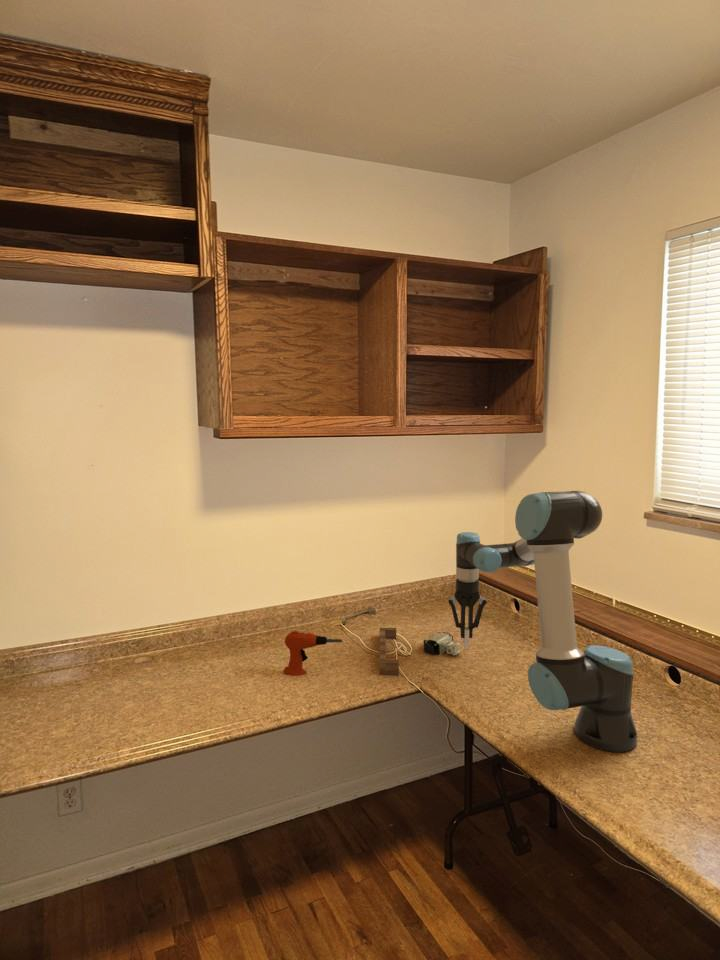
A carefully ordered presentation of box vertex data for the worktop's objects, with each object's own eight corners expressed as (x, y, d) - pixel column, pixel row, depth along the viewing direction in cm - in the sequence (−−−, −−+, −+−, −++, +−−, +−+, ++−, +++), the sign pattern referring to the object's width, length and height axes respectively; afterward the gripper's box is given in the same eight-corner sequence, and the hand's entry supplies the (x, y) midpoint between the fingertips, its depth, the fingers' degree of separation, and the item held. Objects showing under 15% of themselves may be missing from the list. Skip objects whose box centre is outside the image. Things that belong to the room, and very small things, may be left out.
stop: (398, 677, 187) (398, 662, 187) (379, 677, 187) (379, 662, 187) (396, 641, 217) (396, 627, 216) (379, 640, 217) (379, 627, 217)
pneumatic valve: (448, 662, 198) (419, 653, 206) (467, 650, 207) (438, 642, 215) (447, 646, 198) (418, 638, 206) (466, 635, 206) (437, 628, 214)
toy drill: (342, 681, 185) (341, 634, 183) (282, 679, 186) (281, 633, 185) (343, 674, 190) (343, 628, 188) (285, 673, 191) (284, 628, 189)
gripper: (485, 575, 202) (483, 642, 204) (446, 575, 202) (445, 642, 205) (489, 582, 194) (487, 651, 197) (448, 582, 195) (448, 651, 198)
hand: (466, 646), depth 201 cm, fingers closed
